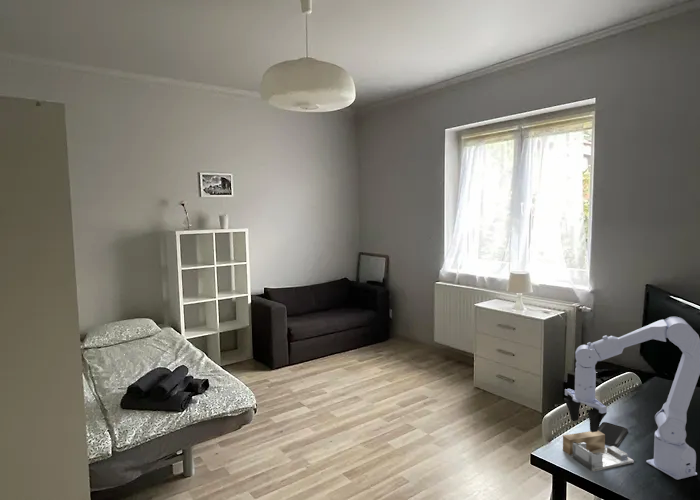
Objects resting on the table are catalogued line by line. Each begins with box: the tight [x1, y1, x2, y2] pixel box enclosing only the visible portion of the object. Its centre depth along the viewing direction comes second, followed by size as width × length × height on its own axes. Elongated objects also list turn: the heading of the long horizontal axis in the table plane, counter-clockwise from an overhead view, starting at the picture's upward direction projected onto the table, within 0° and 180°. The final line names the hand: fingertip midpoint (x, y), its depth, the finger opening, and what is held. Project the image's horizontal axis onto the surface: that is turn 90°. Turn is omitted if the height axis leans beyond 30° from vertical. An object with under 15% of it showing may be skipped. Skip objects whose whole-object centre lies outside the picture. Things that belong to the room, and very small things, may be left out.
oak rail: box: [562, 430, 606, 456], centre depth 138 cm, size 13×3×5 cm, turn 103°
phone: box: [598, 421, 628, 448], centre depth 147 cm, size 8×1×15 cm
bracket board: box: [571, 442, 634, 473], centre depth 131 cm, size 15×8×5 cm, turn 106°
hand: (584, 425), depth 137 cm, fingers open, 7 cm apart
